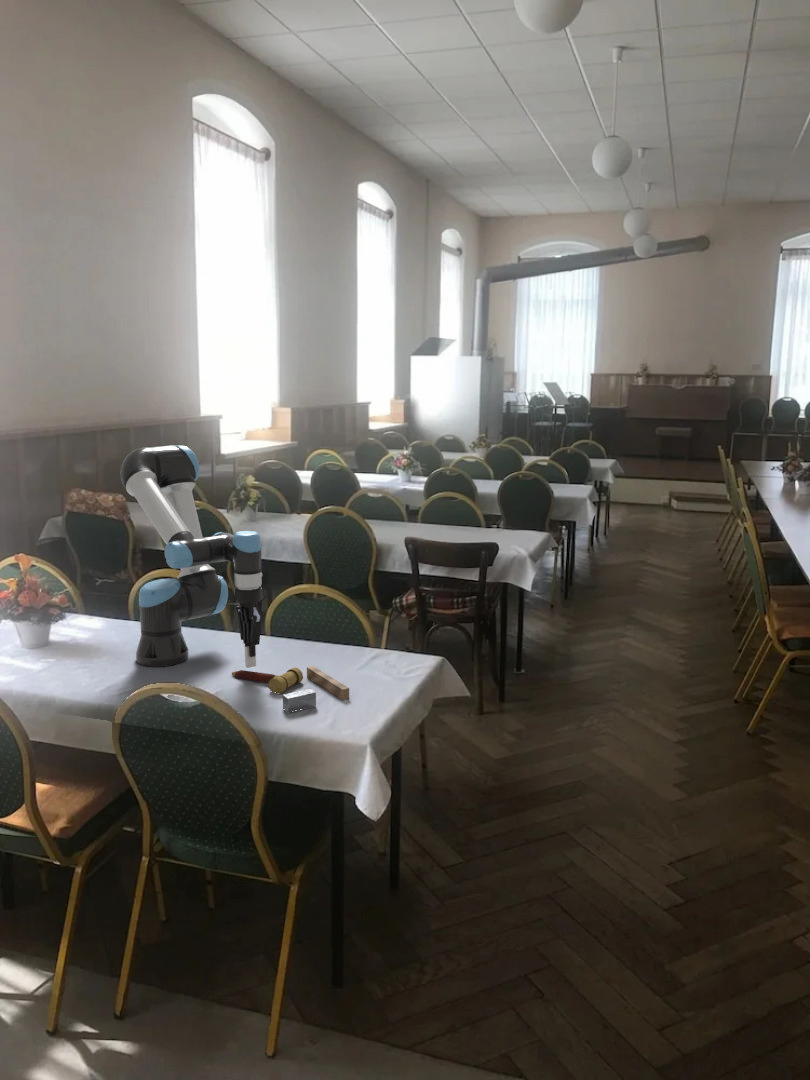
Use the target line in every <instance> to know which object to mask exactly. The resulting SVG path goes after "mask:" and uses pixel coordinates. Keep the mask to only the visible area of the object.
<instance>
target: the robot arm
mask: <svg viewBox="0 0 810 1080" xmlns="http://www.w3.org/2000/svg"><path fill="white" fill-rule="evenodd" d="M199 477H200V464H199V459H198V458H197V455H196V454H195V452H194V451H193V450H192V449H191V448H190V447H188V446H186V445H175V444H172V445H164V446H163V445H162V446H147V447H146V446H145V447H138V448H136V449H134V450H132V451H131V452H129V453H128V454H127V455H126V457H125V458H124V460H123V461H122V464H121V467H120V480H121V483H122V486H123V488H124V489H125V490H126V492H127V494H129V495H130V496H131V497H134V498H135V499H136V501H137V503H138V504H139V506H140V507H141V508H142V510H143V511H144V513H145V515H146V516H147V517H148V519H149V520H150V522H151V524H152V525H153V527H154V528H155V530H156V532H157V533H158V534H159V536H160V537H161V539H162V541H163V542H164V543H165V548H164V558H165V559H166V560H165V561H166V564H167V565H168V567H170V568H172V569H174V570H175V569H180V572H179V574H178V575H177V578H172V577H171V578H170V577H169V578H160V579H156V580H153V581H149V582H147V583H145V584H144V585H142V587H141V588H140V590H139V593H138V606H139V619H140V620H139V622H140V623H139V624H140V639H139V641H138V645H137V649H136V651H135V659H136V660H135V661H136V662H137V663H138V664H139V665H142V666H145V667H155V668H156V667H160V668H161V667H168V666H174V665H177V664H181V663H183V662H186V661H187V659H189V656H190V655H189V647H188V645H187V642H186V640H185V638H184V635H183V632H182V622H184V621H185V622H186V621H190V620H194V619H198V618H205V617H211V616H212V615H216V614H219V613H221V612H223V610H224V609H225V608H226V606H227V602H228V597H229V589H228V588H229V587H228V584H227V581H226V580H225V578H224V577H223V576H222V575H217V573H216V569H215V568H214V567H212V566H211V564H215V563H222V562H230V563H233V569H234V570H233V575H234V576H233V579H234V580H233V582H234V583H233V584H234V586H235V588H234V599H235V601H236V602H237V603H239V605H237V606H235V609H236V613H237V619H238V627H239V635H240V637H239V638H240V640H241V641H242V643H243V645H244V666H245V668H247V669H250V668H253V667H257V647H256V646H258V645H260V640H261V627H262V621H263V614H260V613H259V607H258V603H259V602H261V601H262V599H263V588H262V585H263V584H262V582H263V581H262V577H263V573H262V545H261V535H260V534H259V533H258V531H252V530H241V531H236V532H234V533H233V534H231V533H229V532H222V531H219V532H216V533H214V534H213V535H212V536H205V537H204V536H203V534H202V533H203V532H202V529H201V525H200V520H199V516H198V512H197V508H196V503H195V499H194V494H193V489H194V488H195V486H196V481H197V480H198V478H199Z"/></svg>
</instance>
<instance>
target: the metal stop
mask: <svg viewBox="0 0 810 1080" xmlns="http://www.w3.org/2000/svg"><path fill="white" fill-rule="evenodd" d="M315 706H316V707H317V692H316V691H315V690H314V689H312V688H306V689H302V690H298V691H294V692H290V693H284V694H283V695H282V710H283V709H285V710H286V711H287V712H292V711H295V710H300V709H305V708H309V709H311V708H310V707H313V708H316V707H315ZM305 710H306V709H305ZM286 711H285V712H286ZM300 711H301V710H300ZM287 712H286V713H287ZM292 713H293V712H292Z"/></svg>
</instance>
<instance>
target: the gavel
mask: <svg viewBox="0 0 810 1080" xmlns="http://www.w3.org/2000/svg"><path fill="white" fill-rule="evenodd" d="M231 675H232V676H234V677H236V678H237V679H239V680H240V679H241V680H246V681H251V682H259V683H263V684H264V683H266V684H268V688H269V690H270V692H271V691H272V692H276V693H281V694H283V693H284V692H285V691H286V690H287V689H288V688H290V687H292V686H294V685H298V684H300V683H301V682H302V681H303V678H304V675H303V672H302V670H301V669H300V668H298V667H292V668H290V669H288V670H287V671H286V672H285V673H283V674H281V675H275V674H272V673H266V672H258V671H251V670H242V669H241V670H238V671H232V672H231ZM272 692H271V693H272ZM276 693H275V694H276Z"/></svg>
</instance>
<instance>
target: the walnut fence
mask: <svg viewBox="0 0 810 1080" xmlns="http://www.w3.org/2000/svg"><path fill="white" fill-rule="evenodd" d="M306 677H309V678H310V679H309V678H308V679H309V680H311V679H312V680H313V681H312V680H311V681H312V682H314V683H315V682H316V683H315V684H317V685H318V684H319V686H320V687H321V686H322V687H321V688H323V689H324V690H326V691H328V692H329V693H330V694H332V695H334V696H335V697H337V698H338V699H340V700H341V701H344V700H345V701H346V700H349V699H350V687H349V686H347V685H345V684H344V683H342V682H341V681H338V680H337V679H335V678H334V677H332V676H330V674H328V673H326V672H324V671H322V670H321V669H319V668H317V667H316V666H315V665H311V666H306Z"/></svg>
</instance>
